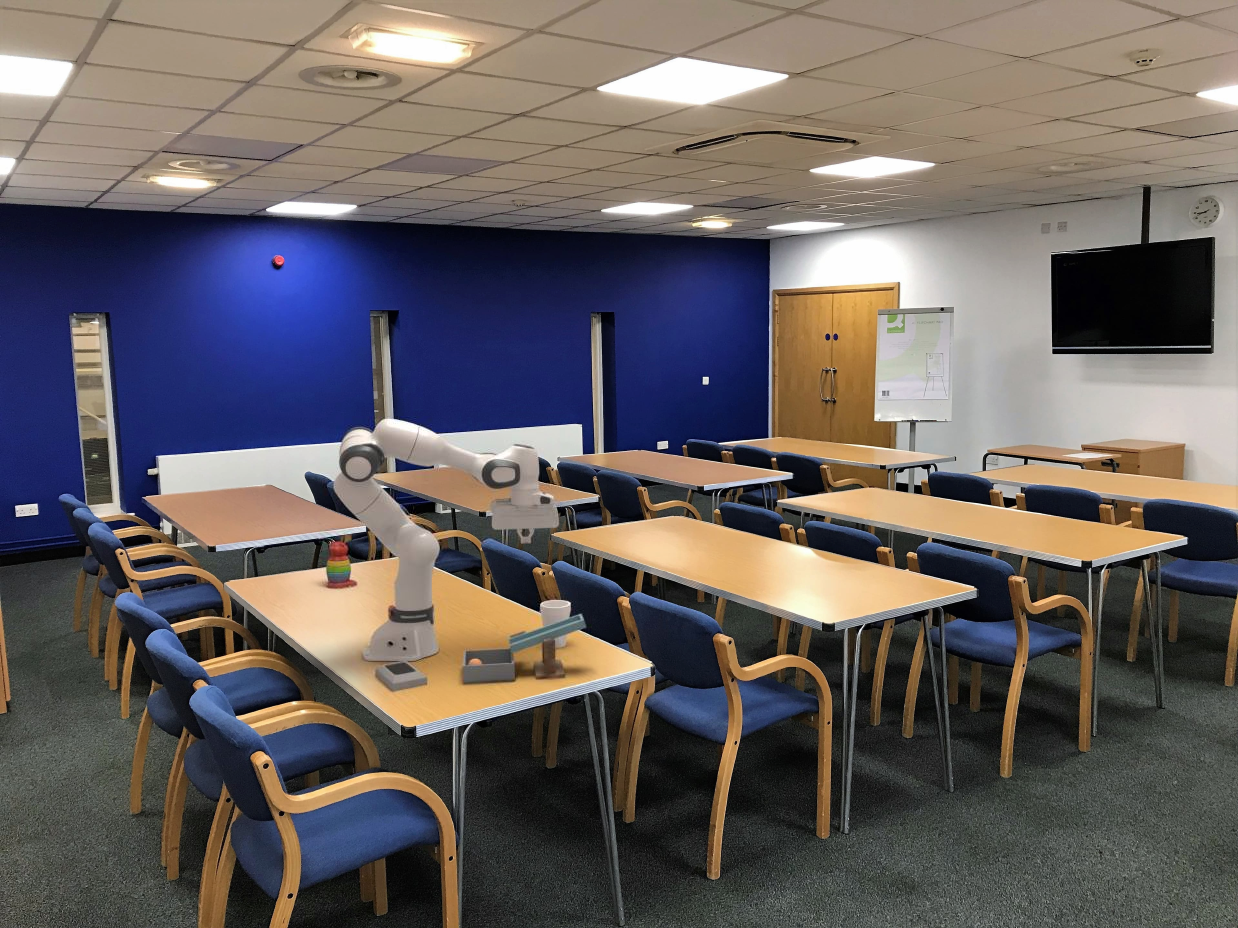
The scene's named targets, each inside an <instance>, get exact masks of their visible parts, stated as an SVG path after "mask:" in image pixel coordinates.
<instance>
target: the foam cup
mask: <svg viewBox="0 0 1238 928" xmlns="http://www.w3.org/2000/svg"><path fill="white" fill-rule="evenodd" d="M539 605H540V606H539V611H540V614H541V615H540V616H541V620H542V621H541V623H542V627H544V626H547V625H550V624H553V623H556V622H559V621H562V620H564V619H567V618H570V617H571V616H570V615H571V610H572V608H571V602H570V601H568V600H561V599H560V600H559V599H550V600H546V601H543V602H541V603H540V604H539ZM567 641H568V634H566V635H563V636H560V637H557V638H555V649H558V648H563V647H565V646H567Z"/></svg>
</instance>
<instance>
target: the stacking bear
mask: <svg viewBox="0 0 1238 928" xmlns="http://www.w3.org/2000/svg"><path fill="white" fill-rule="evenodd" d="M348 552H349V548H348V545H346V543H345V542H342V541H331V542H330V546H329V554H330V556H329V557H328V560H327V562H326V567H325V568H326V569H325V571H326V572H325V573H326V577H327V581H328V582H327V588H328V587H329V589H332V588H340V589H344V588H343V587H348V588H350V587H349V586H353V587H355V586H354V585H356V586H357V585H358V582H357V581H356V580H354V579H351V574H352V567H351V562H350V560H349V557H348V555H347V554H348Z"/></svg>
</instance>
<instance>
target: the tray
mask: <svg viewBox="0 0 1238 928" xmlns="http://www.w3.org/2000/svg"><path fill="white" fill-rule="evenodd" d="M462 657H463V660H462V662H463V663H462V677H463V678H462V682H463V685H469V684H486V683H489V684H490V683H503V682H515V681H516V680H515V657H514V653H512V652H511V649H510V647H509V648H507V647H506V648H487V649H486V648H485V649H469V650H467V649H466V650H465V649H464V650H463V656H462ZM472 659H479V660H480V661H481V662H482V665H468V663H469V662H470V660H472Z"/></svg>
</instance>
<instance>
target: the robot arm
mask: <svg viewBox="0 0 1238 928" xmlns="http://www.w3.org/2000/svg"><path fill="white" fill-rule="evenodd" d="M338 453H339V454H338V455H339V457H338V458H339V460H338V466H339V469H340V471H341V472H340V473H338V475H337V476H336V478H335V479H334V482H333V491H334V493H335V494H336V495H337V497H338V498H339V500H340V501H341V502H342V503H343V504H344V506H345V507H346V508H347V509H348V510H349V511H350V512H351V513H352V514H353V515H354V516H355V517H356V518H357V519H358V520H359V521H360V522H361V523H362V524H363V525H364V526H365V527H366V528H367V529H369V531H370V532H372V534H373V535H374V536H375V537H376V538H377V539H378V540H379V542H380V543H381V544H382V545H383V546H384V547H385V548H386V550H388V551H389V552H390V553H391V554H392V555H393V556H395V557H397V558H398V560H399V561H398V571H397V575H396V577H395V580H394V582H393V583H394V587H393V588H394V605H393V604H390V605H389V606H388V608H387V611H388V612H387V614H388V615H387V616H388V619H387V621H385V622H384V623H383V624H381V625H379V627H378V628H376V630H374V631H373V633H372V635H371V638H370V643H369V645H368V646H366V647H365V648H364V650H363V652H362V659H364V661H368V662H369V661H370V662H371V661H372V662H375V661H376V662H401V661H407V662H416V661H418V660H421V659H422V658H426V657H430V656H433V655H435V654H437V653H438V652H439V651H440V647H439V644H438V641H437V637H436V633H435V627H434V623H435V621H436V620H435V608H434V606H435V605H434V604H433V576H434V575H433V573H434V570H435V569H434V568H435V563H436V560H437V558H438V557H439V553H440V549H441V548H440V547H441V546H440V544H439V541H438V539H437V538H436V536H435V534H433V533H432V532H431V531H430V530H428V529H425V528H423V527H422V526H419V525H417V524H416V523H414V522H413V520H411V518H410V517H409V516H408V515H407V514H406V513H405V511H404V509H402V507H401V506H400V504H399V503H398V502H396V500H395V499H394V498H393V497H392V496H390V494H389V493H388V492H387V491H386V490H385V489H384V488H383V487H382V486H381V485H380V484H378V483H377V481H376V480H375V479H374V475H375V474H376V473H377V472H378V471H379V469H380V468H381V467H382V466H383V465H384V464H385V462H386V458H395V459H397V460H400V461H404V462H406V463H409V464H411V465H417V466H421V467H432V466H437V465H439V466H440V465H441V466H446V467H447V466H448V467H451V468H453V469H456V470H459V471H462V472H464V473H467V474H470V475H471V476H472V477H473V478H474V479H475V480H476V481H477V482H478V483H480V484H481V485H485V486H486V487H487V488H490V489H492V490H501V489H505V488H509V498H495V499H494V500H492V501H491V502H490V507H489V508H490V513H492V517H491V527H492V529H494V530H497V531H499V530H500V531H501V530H502V531H503V530H516V533H517V534H518V536H519V538H520V543H521V544H531V542H532V539H531V538H532V536H533V535H534V533H535V529H555V528H558V527H559V525H560V522H559V521H560V520H559V519H560V518H559V513H558V508H557V506H556V504H555V497H554V496H553V495H552V494H550V493H546V492H543V491H540V484H539V476H540V464H539V463H540V461H539V455H538V451H537V450H536V448H534V447H533V446H531V445H526V444H521V443H520V444H518V443H514V444H512V445H511V446H510V447H509V448H507V449H506V450H503V451H502V452H500V453H498V454H496V453H494V452H483V453H477V452H472V451H469V450H466V449H463V448H461V447H458V446H455V445H453V444H451V443H449V442H447V441H446V440H445V439H444V438H443V437H442V436H441V435H439V434H437V433H436V432H434V431H432V430H430V429H428V428H426V427H424V426H421V425H417V424H415V423H412V422H408V421H405V420H401V419H400V420H399V419H395V418H383V419H382V420H380V421H379V422H378V423H377V424H376V427H375V428H374V430H371V428H367V427H364V426H356V427H352V428H351V429H349V430H347V432H346V433H345V434H344V435H343V437H342V439H341V442H340V446H339V451H338ZM527 529H528V531H529V534H528V535H527V536H523V535H522V532H523V530H527Z"/></svg>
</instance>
